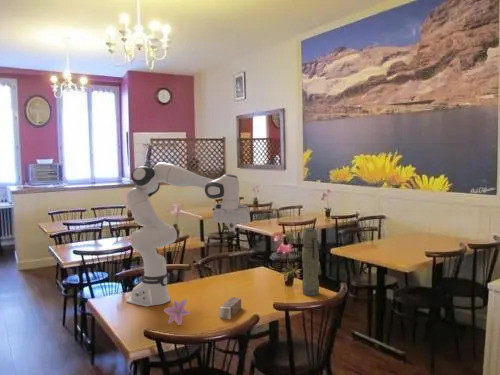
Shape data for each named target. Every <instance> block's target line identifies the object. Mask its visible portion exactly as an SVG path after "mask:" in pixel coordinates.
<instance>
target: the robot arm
mask: <svg viewBox="0 0 500 375" xmlns="http://www.w3.org/2000/svg"><path fill="white" fill-rule="evenodd" d="M131 180H132V182H133V184H134V185H135V186H134V187H132V188H131V189H129V190H128V192H127V194H126V200H127V204H128V207H129V210H130V212H131V215H132V217H133V219H134V222H135V223H136V224H137V225H138V226H141V227H142V228H139V229H136V230H135V231H132V232H131V234H130V236H129V243H130V246H131V247H132V248H133V249H134V250H135V251H137V252H138V253H139V254H140V256H141V257H142V261H143V268H144V269H143V271H144V274H142V275H141V276H140V278H139V279H140V280H141V281H140V282H139V283H138V284H137V285H136V286H134V287H133V288H132V290H131V294H130V296H129V297H127V299H126V303H129V304H133V305H138V306H143V307H152V306H158V305H163V304H166V303H168V302H170V301H171V296H170V294H169V293H170V292H169V288H168V272H167V261H166V258H165V256H164V255H161V254H159V253H158V252H157V248H162V247H166V246H170V245H172V244H174V243H175V242H176V240H177V239H178V232H177V230H176V228H175V227H174V225H170V224H168V223H167V222H165V221H164V220H163V219H162V218H160V217H159V215H158V214H157V213H156V211H155V209H154V207H153V206H152V203H151V200H150V199H149V198H150V197H153V195H155V194H157V193H158V192H159V190H160V189H161V188H160V187H161V183H165V184H168V185H170V186H173V187H176V188H177V187H179V188H185V187H197V188H200V189H201V188H202V189H204V193H205V196H206V197H207V198H209V199H211V200H216V199H217V200H218V199H222V201H221V202H218V203H216V204H214V205H213V208H214V210H213V213H212V221H213V222H214V223H220V224H222V223H223V224H224V223H225V224H226V227H227V228H228V232H236V227H237V226H238V224H241V225H244V224H245V225H246V224H249V223H251V214H250V213H251V208H250V207H249V206H248V205H240V204H241V203H240V201H241V200H240V197H239V193H240V183H239V182H240V181H239V178H238V176H237V175H235V174H229V173H225V174H223V175H222V176H220V177H218V178H216V179H215V178H214V179H213V178H210V177H208V176H207V177H206V176H203V175H201V174H197V173H195V172H192V171H190V170H188V169H185V168H183V167H181V166H179V165H176V164H173V163H168V162H163V161H161V162H160V161H159V162H157V163H156V164H155V165H154V167H152V166H150V165H148V166H143V165H142V166H138V167H134V169H133V170H132V171H131ZM231 224H232V227H231Z"/></svg>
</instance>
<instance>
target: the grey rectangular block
mask: <svg viewBox="0 0 500 375" xmlns="http://www.w3.org/2000/svg"><path fill="white" fill-rule="evenodd" d="M240 310H242V298H241V297H234V296H232V297H230V298H229V299H228V300H227V301H225V302H224V303H223V304H222V305H221V306H220V307H219V318H220V319H223V320H224V319H226V320H231V319H232V318H233V317H234V316H235V315H236V314H237V313H238V312H239V311H240Z"/></svg>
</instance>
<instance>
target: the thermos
mask: <svg viewBox="0 0 500 375" xmlns="http://www.w3.org/2000/svg"><path fill="white" fill-rule="evenodd" d="M302 238H303V239H302V241H303V242H302V244H303V245H302V252H301V254H302V255H301V261H302V267H303V270H302V273H303V276H302V278H303V279H302V284H301V285H302V287H301V288H302V295H304V296H307V297H316V296H318V295H319V294H320V292H319V290H320V281H319V262H320V261H319V260H320V259H319V257H320V255H319V254H320V252H319V249H318V248H319V247H318V246H319V245H318V232H317V229H315V228H312V227H311V228H310V227H309V228H308V227H307V228H306V229H304V231H303V234H302Z"/></svg>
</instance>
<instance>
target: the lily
mask: <svg viewBox="0 0 500 375" xmlns="http://www.w3.org/2000/svg"><path fill="white" fill-rule="evenodd" d="M187 302H188V299H187V298H185V299H183V300H180V301H179V302H178V301H177V300H176V299H175V298H174V299H173V303H172V306H169V307H166V308H164V309H163V312H165V313H166V314H167V315H169V319H168V321H167V322H168V323H167V324H171V323H173V321H175V322H176V324H177V325H178V326H179V325H181V326H182V321H183V317H184V316H186V315H189V314H190V313H191V312H190V311H189V310H187V309H186V308H185V307H186V305H187Z"/></svg>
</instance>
